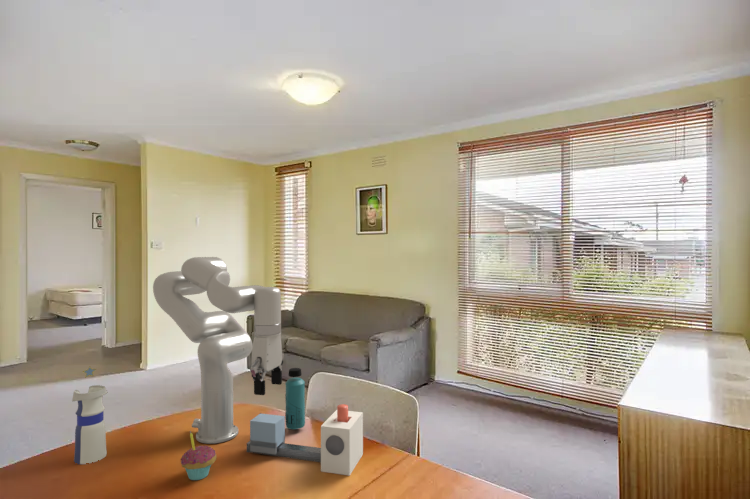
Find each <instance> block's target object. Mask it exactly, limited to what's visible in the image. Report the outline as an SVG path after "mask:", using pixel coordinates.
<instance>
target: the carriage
mask: <svg viewBox="0 0 750 499" xmlns="http://www.w3.org/2000/svg"><path fill="white" fill-rule="evenodd" d="M285 421H286V418H285V415H279V414H277V415H276V414H268V413H261V412H260V413H259V414H257V415H256V416H255V417H253V418H252V419H250V420H249V427H250V428H249V431H250V432H249V435H250V436H249V441H250V451H253V452H260V453H267V454H275V455H276V454H277V447H278V446H279V445H280V444H281V443H285V441H286V440H285V439H286V432H285V430H286V422H285Z"/></svg>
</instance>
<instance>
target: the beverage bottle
mask: <svg viewBox="0 0 750 499" xmlns="http://www.w3.org/2000/svg"><path fill="white" fill-rule="evenodd" d="M288 377H290V378H288V379H287V381H285V384H284V385H285V391H284V392H285V396H284V398H285V401H284V402H285V413H284V414H285V415H284V416H285V428H287V429H289V430H299V429H302V428H304V427H305V424H306V400H305V399H306V398H305V391H306V390H305V388H306V387H305V384H306V382H305V380H304V379H303V378H301V377H302V369H301V368H300V367H292V368H289V369H288Z"/></svg>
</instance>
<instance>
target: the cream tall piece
mask: <svg viewBox="0 0 750 499" xmlns="http://www.w3.org/2000/svg"><path fill="white" fill-rule="evenodd" d="M96 370H97V368H92V367H91V366H89V367H88V368H87V369H85V370H83V371H82V373H85V376H84V378H87V377H94V376H95V375H94V372H95V371H96ZM107 393H108V390H107V388H106V387H105V386H104V385H100V384H97V385H95V384H94V385H90V386H89V387H88V392H87V393H85V392H84V393H81V392H80V391H79V390H78V389H75V390H74V391H73V393H72V394H73V395H72V399H71V401H72V402H77V405H78V406H77V409H76V410H75V415H76V426H75V431H74V455H73V457H74V458H73V463H74V462H75V463H74V464H76V463H77V464H76V465H87V464H86V463H89V464H93V463H96V462H98V460H99V461H101V460H103V459H104V458H105V457H107V453H108V452H107V439H106V438H107V436H106V420H104V411H105V409H106V407H105V405H104V403H103V402H104V401H103V398H104V397H103V396H105V395H106V394H107ZM92 462H93V463H92Z"/></svg>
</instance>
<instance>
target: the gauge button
mask: <svg viewBox="0 0 750 499" xmlns="http://www.w3.org/2000/svg"><path fill="white" fill-rule="evenodd" d="M336 408H337V409H336V410H337V421H338V422H348V411H349V405H348V404H347V403H346V404H343V403H342V404H338V405H337V407H336Z"/></svg>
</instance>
